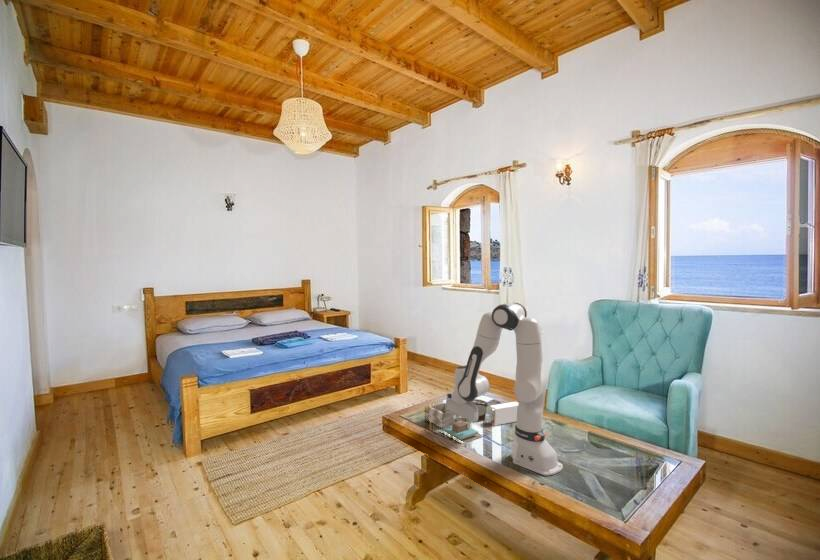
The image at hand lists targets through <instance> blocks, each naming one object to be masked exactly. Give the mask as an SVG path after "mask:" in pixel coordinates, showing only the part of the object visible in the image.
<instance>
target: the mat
mask: <svg viewBox="0 0 820 560" xmlns="http://www.w3.org/2000/svg"><path fill="white" fill-rule="evenodd" d="M481 438H482V436H481V435H479V434H476V435H474V436H471V437H468V438H465V439H462V440H461V441H463V442H467V443H469V441H470V442H472V441H475V440H478V439H481Z"/></svg>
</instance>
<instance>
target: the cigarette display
mask: <svg viewBox="0 0 820 560" xmlns="http://www.w3.org/2000/svg"><path fill="white" fill-rule="evenodd" d="M518 404H519V401H510V402H503V403H497V404H492V405H489V407H490V408H492V409H493V410H492V409H491V410H489V411H488V412H489V413H488V414H489V416H488V417H489V418H488V424H491V425H493V426H494V427H496V426H501V425H505V424H511V423H517V408H518Z"/></svg>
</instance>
